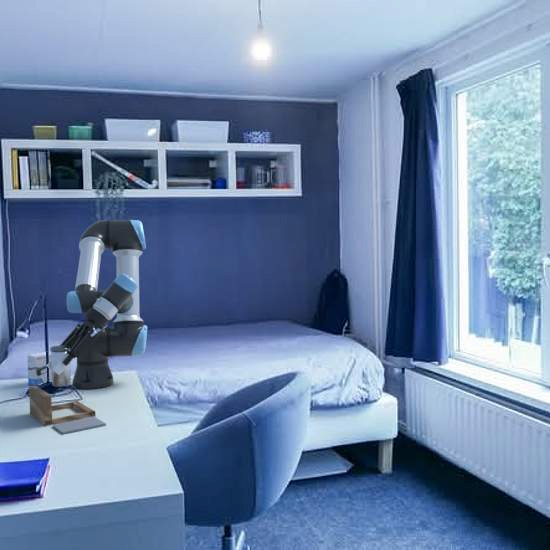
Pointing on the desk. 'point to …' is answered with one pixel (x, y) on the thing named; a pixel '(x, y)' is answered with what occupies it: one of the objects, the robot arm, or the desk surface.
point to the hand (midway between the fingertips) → (52, 370)
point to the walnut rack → (53, 408)
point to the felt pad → (79, 425)
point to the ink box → (38, 368)
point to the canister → (56, 356)
